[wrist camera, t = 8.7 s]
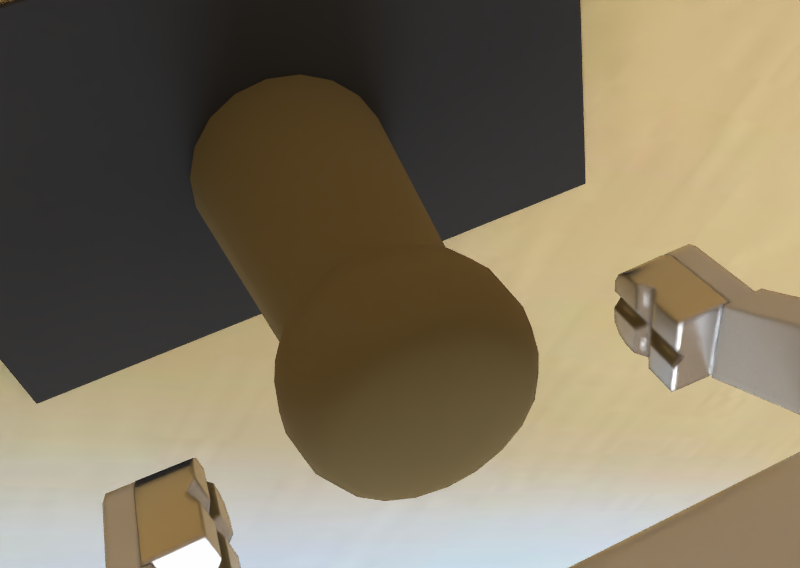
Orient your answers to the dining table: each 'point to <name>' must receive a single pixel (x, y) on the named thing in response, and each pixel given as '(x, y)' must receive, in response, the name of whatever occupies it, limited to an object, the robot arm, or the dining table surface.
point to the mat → (185, 121)
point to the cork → (361, 294)
